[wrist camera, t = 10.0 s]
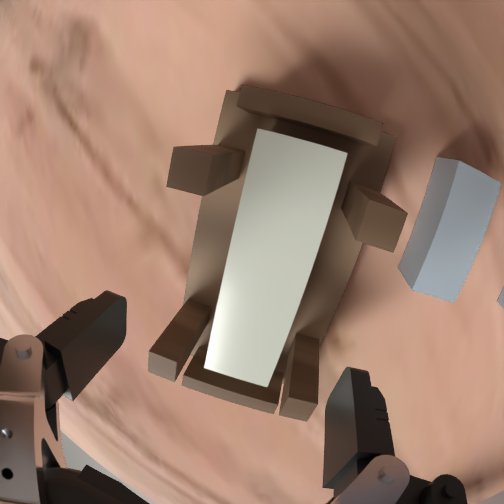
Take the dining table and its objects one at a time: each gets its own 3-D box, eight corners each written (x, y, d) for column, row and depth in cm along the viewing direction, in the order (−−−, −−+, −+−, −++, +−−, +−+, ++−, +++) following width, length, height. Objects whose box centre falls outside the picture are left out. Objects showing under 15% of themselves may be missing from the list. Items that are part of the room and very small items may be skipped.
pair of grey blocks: (519, 309, 16) (538, 329, 13) (397, 267, 17) (411, 289, 14) (554, 224, 13) (578, 237, 11) (436, 156, 14) (459, 160, 12)
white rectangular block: (337, 151, 14) (347, 153, 11) (276, 343, 19) (267, 387, 15) (270, 132, 15) (257, 128, 11) (223, 327, 19) (203, 367, 15)
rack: (300, 376, 21) (292, 450, 15) (183, 340, 22) (143, 402, 15) (390, 137, 15) (437, 135, 8) (232, 93, 15) (186, 66, 9)
